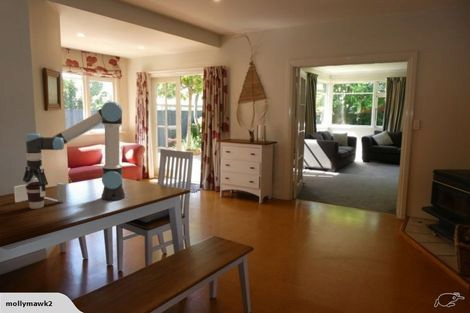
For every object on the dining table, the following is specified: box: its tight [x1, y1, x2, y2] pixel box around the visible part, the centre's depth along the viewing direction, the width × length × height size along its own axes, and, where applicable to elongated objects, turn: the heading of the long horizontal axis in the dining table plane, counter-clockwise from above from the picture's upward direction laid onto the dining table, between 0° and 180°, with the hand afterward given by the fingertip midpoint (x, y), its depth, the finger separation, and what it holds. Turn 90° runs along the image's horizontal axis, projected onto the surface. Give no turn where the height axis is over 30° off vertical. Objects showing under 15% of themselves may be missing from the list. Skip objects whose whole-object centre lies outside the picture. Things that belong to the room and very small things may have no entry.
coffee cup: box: [26, 181, 45, 210], centre depth 196 cm, size 10×10×15 cm
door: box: [13, 183, 28, 203], centre depth 211 cm, size 17×3×10 cm, turn 155°
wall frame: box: [32, 177, 67, 204], centre depth 214 cm, size 2×30×12 cm, turn 64°
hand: (35, 194), depth 196 cm, fingers open, 13 cm apart
